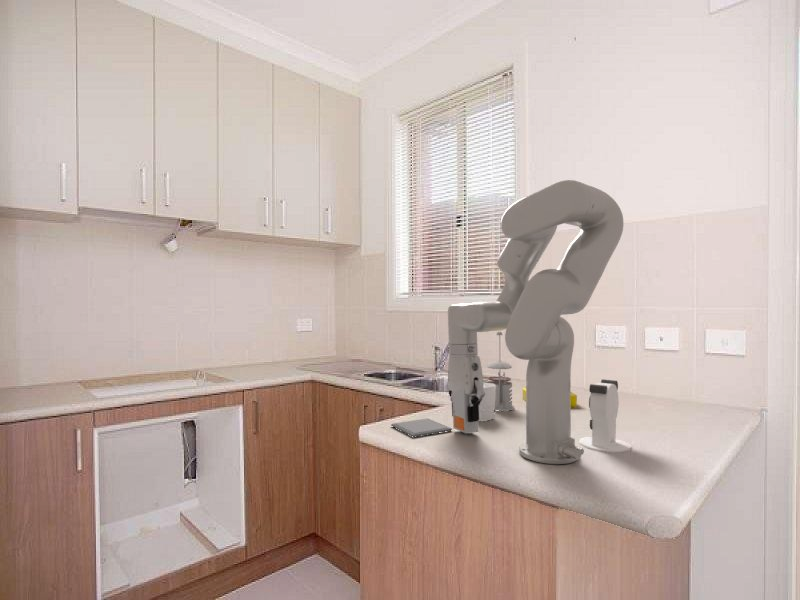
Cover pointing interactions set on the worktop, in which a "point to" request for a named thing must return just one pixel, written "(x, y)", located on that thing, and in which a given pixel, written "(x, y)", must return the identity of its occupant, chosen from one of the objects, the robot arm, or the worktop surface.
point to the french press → (501, 385)
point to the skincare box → (462, 413)
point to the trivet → (421, 427)
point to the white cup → (487, 402)
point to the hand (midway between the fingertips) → (465, 418)
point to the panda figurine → (604, 418)
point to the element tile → (572, 398)
